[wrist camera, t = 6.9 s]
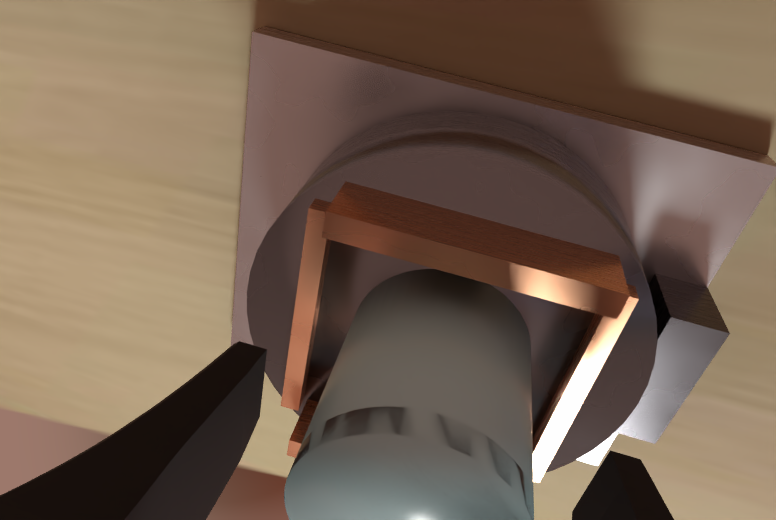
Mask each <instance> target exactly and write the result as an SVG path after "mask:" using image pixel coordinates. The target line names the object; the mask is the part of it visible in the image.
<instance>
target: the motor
mask: <svg viewBox="0 0 776 520" xmlns="http://www.w3.org/2000/svg"><path fill="white" fill-rule="evenodd" d="M775 176H776V163H775V162H774V161H773V160H772V159H771V158H770V157H769V156H767V155H763V154H760V153H756V152H752V151H748V150H744V149H740V148H736V147H732V146H728V145H725V144H721V143H717V142H713V141H709V140H705V139H701V138H697V137H693V136H690V135H686V134H682V133H678V132H674V131H670V130H666V129H662V128H658V127H655V126H651V125H647V124H643V123H639V122H635V121H631V120H627V119H623V118H620V117H616V116H612V115H608V114H604V113H600V112H596V111H592V110H588V109H585V108H581V107H577V106H573V105H569V104H565V103H561V102H557V101H553V100H549V99H546V98H542V97H538V96H534V95H530V94H526V93H522V92H518V91H514V90H511V89H507V88H503V87H499V86H495V85H491V84H487V83H483V82H479V81H476V80H472V79H468V78H464V77H460V76H456V75H452V74H448V73H444V72H441V71H437V70H433V69H429V68H425V67H421V66H417V65H413V64H409V63H406V62H402V61H398V60H394V59H390V58H386V57H382V56H378V55H374V54H371V53H367V52H363V51H359V50H355V49H351V48H347V47H343V46H339V45H336V44H332V43H328V42H324V41H320V40H316V39H312V38H308V37H304V36H301V35H297V34H293V33H289V32H285V31H281V30H277V29H273V28H269V27H266V26H264V27H261V28H259V29H257V30H255V31H252V42H251V57H250V72H249V86H248V101H247V116H246V131H245V145H244V160H243V175H242V190H241V204H240V219H239V234H238V249H237V263H236V278H235V293H234V308H233V323H232V337H231V346H232V345H233V344H234V343H237V342H239V341H241V342H244V343H247V344H251V345H254V346H258V347H261V348H264V349H267V355H266V363H265V373H266V374H267V376H268V378H269V379H270V381H271V382H272V384H273V386H274V387H275V389H276V390H277V391H278V393H279V394H280V395H281V396H282V401H281V406H283V407H287V408H290V409H293V410H294V411H295V412H296V413H297V414H298V416H299V420H298V422H297V424H296V426H295V429H294V431H293V433H292V435H291V438H290V440H289V446H288V452H287V455H288V456H292V457H295V458H296V456H297V453H298V451H299V449H300V446H301V444H302V441H303V439H304V437H305V434H306V432H307V429H308V427H309V425H310V422H311V420H312V417H313V415H314V413H315V410H316V408H317V405H318V403H319V401H320V398H321V396H322V393H323V391H324V389H325V386H326V384H327V381H328V379H329V377H330V374H331V372H332V369H333V367H334V365H335V362H336V360H337V357H338V355H339V353H340V350H341V348H342V345H343V343H344V341H345V338H346V336H347V333H348V331H349V328H350V326H351V324H352V321H353V319H354V316H355V314H356V312H357V310H358V308H359V306H360V304H361V302H362V301H363V299H364V298H365V297H366V295H367V294H368V293H369V292H370V291H371V290H372V289H373V288H375V287H376V286H377V285H379V284H380V283H381V282H383V281H385V280H387V279H389V278H391V277H393V276H396V275H398V274H401V273H404V272H408V271H412V270H420V269H437V270H441V271H444V272H448V273H452V274H455V275H459V276H462V277H466V278H470V279H473V280H477V281H480V282H484V283H487V284H490V285H491V286H493V287H495V288H496V289H498V290H499V291H500V292H501V293H503V294H504V295H505V296H506V297H507V298H508V299H509V300H510V301H511V302H512V303H513V304H514V305H515V307H516V308H517V309H518V311H519V312H520V313H521V315H522V317H523V319H524V321H525V323H526V325H527V328H528V331H529V335H530V341H531V382H532V441H533V481H534V482H538V483H539V482H540V481H541V479H542V477H543V475H544V473H546V472H549V471H552V470H555V469H557V468H559V467H562V466H564V465H566V464H569V463H571V462H573V461H575V460H579V461H582V462H586V463H589V464H592V465H596V466H598V465H599V463H600V461H601V460H602V458H603V456H604V455H605V453H606V452H607V450H608V448H609V447H610V445H611V443H612V442H613V440H614V438H615V437H616V435H617V434H618V433H620V434H623V435H627V436H630V437H633V438H637V439H640V440H644V441H647V442H651V443H654V444H655V443H656V442H657V440H658V439H659V437H660V436H661V434H662V433H663V432H664V430H665V429H666V427H667V426H668V424H669V423H670V421H671V420H672V418H673V417H674V415H675V414H676V412H677V411H678V409H679V408H680V406H681V405H682V403H683V402H684V400H685V399H686V398H687V396H688V395H689V393H690V392H691V390H692V389H693V387H694V386H695V384H696V383H697V381H698V380H699V378H700V377H701V375H702V374H703V372H704V371H705V369H706V368H707V366H708V365H709V364H710V362H711V361H712V359H713V358H714V356H715V355H716V353H717V352H718V350H719V349H720V347H721V346H722V344H723V343H724V341H725V340H726V338H727V337H728V335H729V334H730V333H729V331H728V329H727V327H726V325H725V323H724V321H723V319H722V317H721V315H720V312H719V310H718V308H717V306H716V304H715V302H714V300H713V298H712V296H711V294H710V292H709V290H708V288H707V287H708V286H709V284H710V282H711V281H712V279H713V277H714V276H715V274H716V272H717V271H718V269H719V268H720V266H721V264H722V263H723V261H724V259H725V258H726V256H727V255H728V253H729V251H730V250H731V248H732V246H733V245H734V243H735V242H736V240H737V238H738V237H739V235H740V233H741V232H742V230H743V229H744V227H745V225H746V224H747V222H748V220H749V219H750V217H751V216H752V214H753V212H754V211H755V209H756V207H757V206H758V204H759V203H760V201H761V199H762V198H763V196H764V194H765V193H766V191H767V190H768V188H769V186H770V185H771V183H772V181H773V180H774V178H775Z"/></svg>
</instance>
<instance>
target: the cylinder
mask: <svg viewBox="0 0 776 520" xmlns="http://www.w3.org/2000/svg"><path fill="white" fill-rule="evenodd" d="M284 500H285V507H286V511H287V514H288V517H289V519H290V520H534V500H533V441H532V382H531V341H530V335H529V331H528V328H527V325H526V323H525V321H524V319H523V317H522V315H521V313H520V312H519V311H518V309H517V308H516V307H515V305H514V304H513V303H512V302H511V301H510V300H509V299H508V298H507V297H506V296H505V295H504V294H503V293H501V292H500V291H499V290H498V289H496V288H495V287H493V286H491V285H490V284H487V283H484V282H480V281H477V280H473V279H470V278H466V277H462V276H459V275H455V274H452V273H448V272H444V271H441V270H437V269H420V270H412V271H408V272H404V273H401V274H398V275H396V276H393V277H391V278H389V279H387V280H385V281H383V282H381V283H380V284H379V285H377V286H376V287H375V288H373V289H372V290H371V291H370V292H369V293H368V294H367V295H366V297H365V298H364V299H363V301H362V302H361V304H360V306H359V308H358V310H357V312H356V314H355V316H354V319H353V321H352V324H351V326H350V328H349V331H348V333H347V336H346V338H345V341H344V343H343V345H342V348H341V350H340V353H339V355H338V357H337V360H336V362H335V365H334V367H333V369H332V372H331V374H330V377H329V379H328V381H327V384H326V386H325V389H324V391H323V393H322V396H321V398H320V401H319V403H318V405H317V408H316V410H315V413H314V415H313V417H312V420H311V422H310V425H309V427H308V429H307V432H306V434H305V437H304V439H303V441H302V444H301V446H300V449H299V451H298V453H297V456H296V458H295V461H294V463H293V465H292V468H291V470H290V473H289V475H288V477H287V481H286V485H285V492H284Z"/></svg>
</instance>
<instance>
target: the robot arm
mask: <svg viewBox="0 0 776 520" xmlns="http://www.w3.org/2000/svg"><path fill="white" fill-rule="evenodd" d="M266 355H267V349H264V348H261V347H258V346H254V345H251V344H247V343H244V342H241V341H239V342H237V343H234V344H233V345H232V346H231V347H230V348H228V349H227V350H226V351H225V352H224V353H222V354H221V355H220V356H219V357H218V358H216V359H215V360H214V361H213V362H212V363H210V364H209V365H208V366H207V367H205V368H204V369H203V370H202V371H200V372H199V373H198V374H197V375H195V376H194V377H193V378H192V379H190V380H189V381H188V382H186V383H185V384H184V385H182V386H181V387H180V388H178V389H177V390H176V391H174V392H173V393H172V394H170V395H169V396H168V397H166V398H165V399H164V400H162V401H161V402H159V403H158V404H157V405H155V406H154V407H152V408H151V409H150V410H148V411H147V412H145V413H144V414H142V415H141V416H139V417H138V418H136V419H135V420H133V421H132V422H130V423H129V424H127V425H126V426H124V427H123V428H121V429H120V430H118V431H117V432H115V433H114V434H112V435H110V436H109V437H107V438H106V439H104V440H102V441H101V442H99V443H98V444H96V445H94V446H92V447H91V448H89V449H88V450H86V451H84V452H82V453H80V454H79V455H77V456H75V457H74V458H72V459H70V460H68V461H66V462H65V463H63V464H61V465H59V466H57V467H55V468H54V469H52V470H50V471H48V472H46V473H44V474H42V475H40V476H38V477H36V478H35V479H32V480H31V481H29V482H27V483H25V484H23V485H21V486H19V487H17V488H15V489H13V490H11V491H9V492H7V493H5V494H2V495H0V520H206V518H207V517H208V515H209V513H210V511H211V510H212V508H213V507H214V505H215V503H216V501H217V499H218V498H219V496H220V495H221V493H222V491H223V489H224V488H225V486H226V484H227V482H228V481H229V479H230V477H231V476H232V474H233V472H234V470H235V469H236V467H237V465H238V463H239V462H240V460H241V457H242V455H243V453H244V451H245V449H246V446H247V444H248V442H249V440H250V437H251V435H252V433H253V430H254V428H255V426H256V424H257V421H258V419H259V417H260V408H261V399H262V390H263V381H264V372H265V363H266ZM572 520H674V519H673V517H672V515H671V513H670V512H669V510H668V508H667V506H666V504H665V503H664V501H663V499H662V497H661V495H660V494H659V492H658V490H657V488H656V486H655V484H654V483H653V481H652V479H651V477H650V475H649V474H648V472H647V470H646V468H645V466H644V465H643V463H642V461H641V460H640V459H637V458H634V457H630V456H627V455H623V454H620V453H617V452H613V451H610V452H609V453H608V455H607V457H606V458H605V460H604V461H603V463H602V465H601V466H600V468H599V469H598V471H597V473H596V474H595V476H594V478H593V479H592V481H591V482H590V484H589V486H588V487H587V489H586V490H585V492H584V494H583V495H582V497H581V499H580V500H579V502H578V503H577V505H576V507H575V508H574V510H573V511H572Z"/></svg>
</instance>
